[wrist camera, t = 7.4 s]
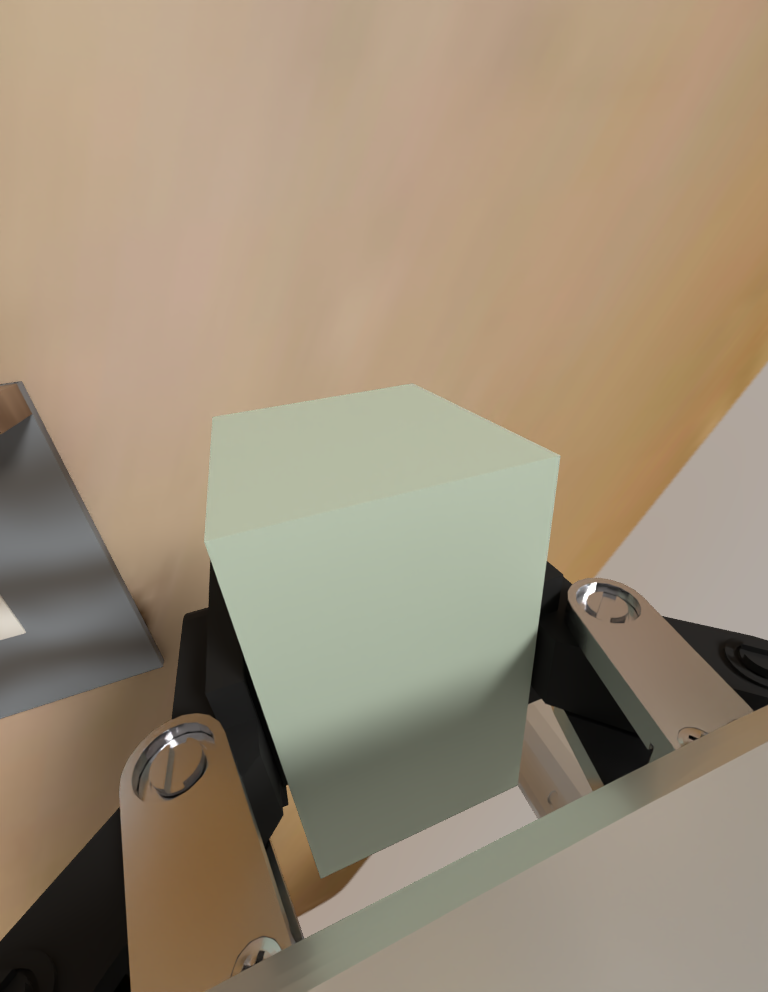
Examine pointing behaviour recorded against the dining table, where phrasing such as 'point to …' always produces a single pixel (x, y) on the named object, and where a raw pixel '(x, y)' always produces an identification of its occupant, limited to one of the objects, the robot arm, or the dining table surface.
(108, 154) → the dining table surface
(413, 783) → the sage block
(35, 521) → the shallow tray
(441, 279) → the dining table surface
